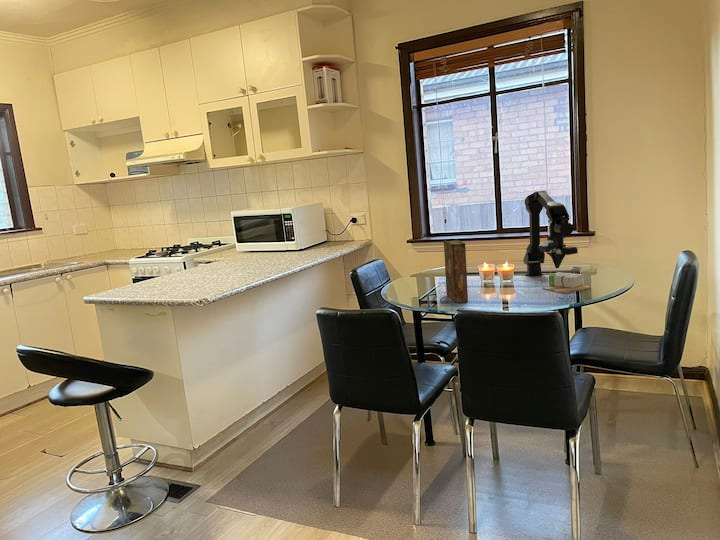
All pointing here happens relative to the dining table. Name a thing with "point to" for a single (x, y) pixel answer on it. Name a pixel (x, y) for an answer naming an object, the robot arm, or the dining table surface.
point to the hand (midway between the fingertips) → (557, 268)
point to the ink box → (565, 280)
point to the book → (456, 271)
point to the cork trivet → (566, 289)
